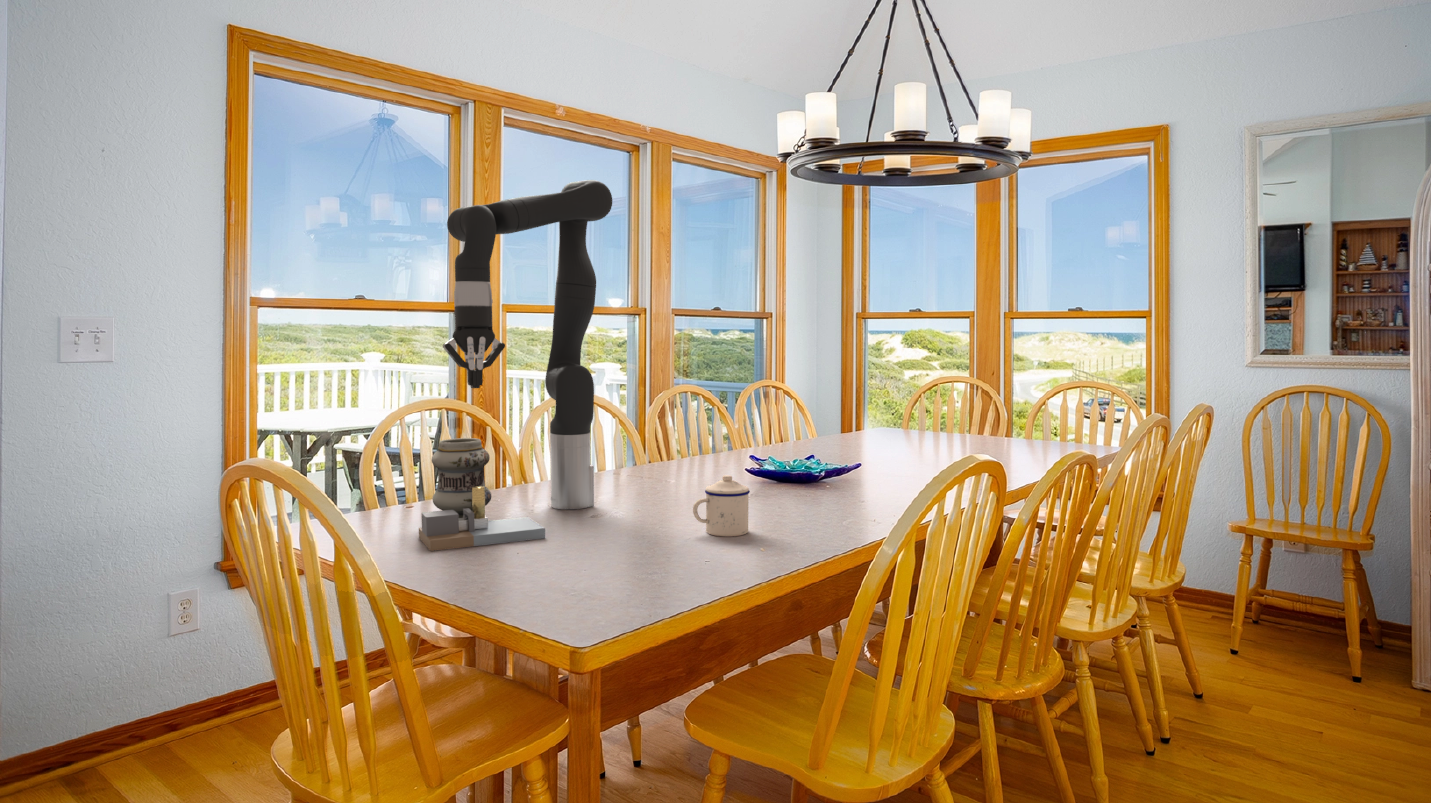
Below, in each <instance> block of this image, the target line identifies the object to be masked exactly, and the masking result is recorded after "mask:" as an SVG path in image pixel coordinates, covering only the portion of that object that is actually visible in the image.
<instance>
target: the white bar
mask: <svg viewBox="0 0 1431 803" xmlns="http://www.w3.org/2000/svg"><path fill="white" fill-rule="evenodd" d="M485 487H486V486H485ZM485 487H482V486H477V487H472V511H473V512H474V525H475V529H483V528H488V521H489V517H488V516H486V506H485ZM463 530H468V517H466V518H459V531H463Z"/></svg>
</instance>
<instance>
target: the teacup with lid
mask: <svg viewBox="0 0 1431 803" xmlns="http://www.w3.org/2000/svg"><path fill="white" fill-rule="evenodd" d="M721 479H722V480H721ZM721 479H720V480H718V481H716V482H715V483H713V484H710V485H707V486H706V487H705V490H704V493H705V497H703V498H698V500H696V501H695V502H694V504H693V506H692V514H693V516H694V518H695V520H697V521H698V522H699V523H702V524H705V532H706V533H707V534H708V535H712V536H716V537H724V538H725V537H728V538H729V537H739V536H743V535H746V534H747V533H748V532H749V494H750V488H749V487H748V486H747V485H744V484H741V483H740V482H738V481H737V480H733V476H732V475H731V474H724V475H723V476H722V478H721ZM702 503H705V518H701V517H700V516H699V512H698V508H699V506H700V504H702Z"/></svg>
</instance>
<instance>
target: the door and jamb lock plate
mask: <svg viewBox="0 0 1431 803" xmlns="http://www.w3.org/2000/svg"><path fill="white" fill-rule="evenodd" d="M466 517H468V530H463V531H459V514H458V513H456V512H455V511H454V510H444V511H443V510H434V511H425V512H423V511H422V512H421V527H418V538H419V539H420V541H421V542H422V543H423V544H424V545H425V547H427V549H428V551H430V552H435V551H441V550H451V549H460V548H461V549H462V548H469V547H477V546H489V545H495V544H505V543H512V542H513V543H514V542H522V541H523V542H524V541H531V540H532V541H533V540H541V539H546V528H545V527H544V526H542V525H541V524H539V522H536V521H535V520H533V519H532V518H531V517H528V516H524V517H523V516H522V517H521V516H520V517H513V518H504V519H503V518H502V519H494V520H493V519H491V520H488V528H483V529H475V525H474V512H473V511H471V510H470V509H469V508H465V509H463V518H466ZM434 550H435V551H434Z"/></svg>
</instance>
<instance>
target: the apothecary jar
mask: <svg viewBox="0 0 1431 803" xmlns="http://www.w3.org/2000/svg"><path fill="white" fill-rule="evenodd" d="M489 461H490V454H489V451H487V450H486V449H484V448H483V445H482V440H481V439H480V438H475V437H473V438H472V437H471V438H470V437H461V438H459V437H458V438H449V439H448V438H447V439H442V440H440V441H439V443H438V450H436V451H435V452H434V453H433V455H432V456H431V463H432V465H433V466H434V467H435V468H437V484H438V485H437V486H438V487H437V490H436V491H435V492H434V493H433V496H432V503H433V505H434V506H435V507H436V508H437V509H439V511H444V510H454V511H455V512H456V513H458V514H459V518H463V509H465V508H469V509H470V510H471V511H472V487H477V486H482V487H485V507H486V506H487V505H488V504H489V503H490V502H491V501H492V492H491V490H490V489H489V488H488V487H487V486H486V481H485V466H486V465H487V464H488V463H489Z"/></svg>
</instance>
